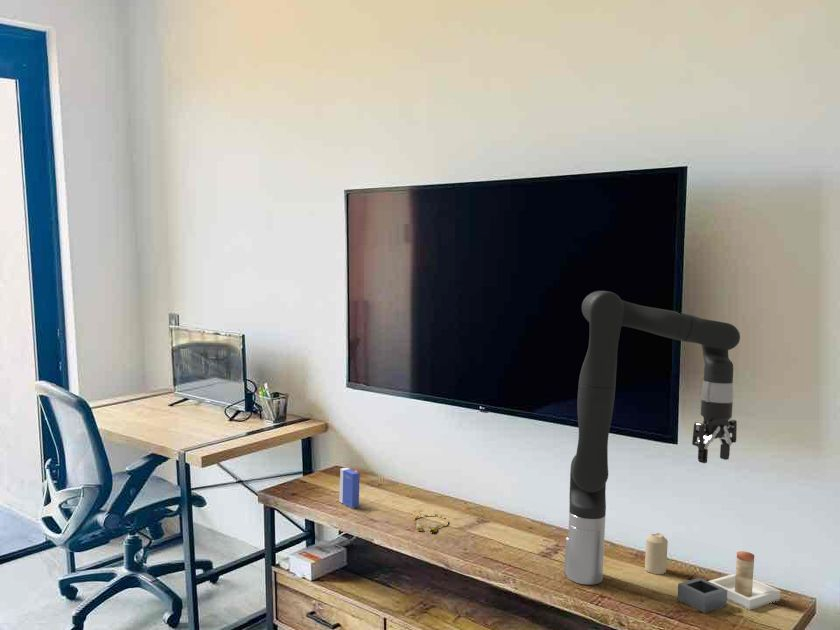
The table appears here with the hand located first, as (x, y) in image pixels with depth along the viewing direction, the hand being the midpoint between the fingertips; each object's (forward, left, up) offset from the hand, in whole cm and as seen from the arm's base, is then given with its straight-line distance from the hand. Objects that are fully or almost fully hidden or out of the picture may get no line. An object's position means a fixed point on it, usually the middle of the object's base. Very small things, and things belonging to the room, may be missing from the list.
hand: (713, 460), depth 189 cm
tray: (+10, +1, -32) cm, 34 cm away
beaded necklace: (-69, -44, -33) cm, 88 cm away
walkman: (-96, -59, -32) cm, 117 cm away
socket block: (+8, -12, -32) cm, 35 cm away
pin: (+10, +1, -31) cm, 33 cm away
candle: (-11, -7, -32) cm, 35 cm away
